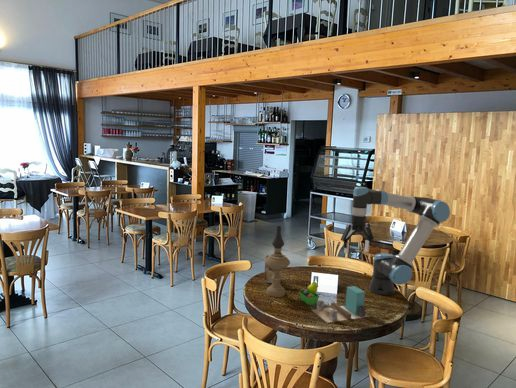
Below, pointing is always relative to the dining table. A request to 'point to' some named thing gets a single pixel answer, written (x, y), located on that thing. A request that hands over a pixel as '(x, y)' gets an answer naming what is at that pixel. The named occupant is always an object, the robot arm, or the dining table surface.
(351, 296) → the teal box
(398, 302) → the dining table surface
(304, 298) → the fruit basket
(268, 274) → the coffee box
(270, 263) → the oil lamp
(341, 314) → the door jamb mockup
